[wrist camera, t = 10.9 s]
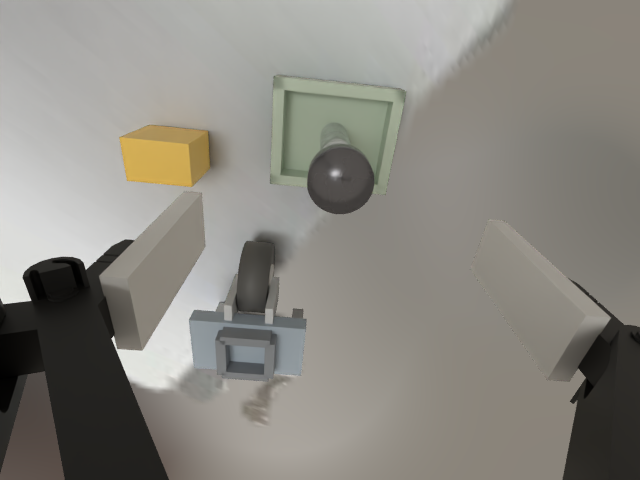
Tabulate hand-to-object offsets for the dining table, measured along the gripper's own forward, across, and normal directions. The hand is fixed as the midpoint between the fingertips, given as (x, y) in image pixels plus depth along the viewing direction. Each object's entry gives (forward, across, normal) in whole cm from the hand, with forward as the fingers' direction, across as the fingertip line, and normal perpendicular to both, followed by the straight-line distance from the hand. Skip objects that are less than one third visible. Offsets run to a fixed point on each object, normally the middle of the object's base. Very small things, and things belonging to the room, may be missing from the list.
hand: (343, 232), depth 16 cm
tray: (+22, 0, 0) cm, 23 cm away
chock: (+23, -16, -3) cm, 28 cm away
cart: (+22, -7, -18) cm, 30 cm away
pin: (+22, 0, 0) cm, 22 cm away
